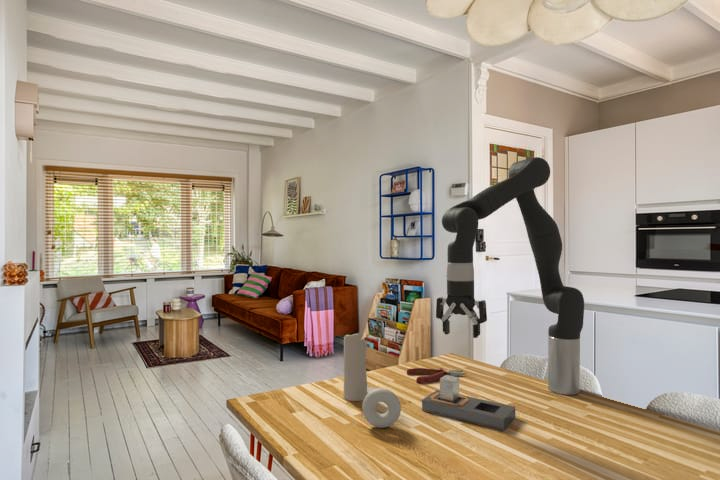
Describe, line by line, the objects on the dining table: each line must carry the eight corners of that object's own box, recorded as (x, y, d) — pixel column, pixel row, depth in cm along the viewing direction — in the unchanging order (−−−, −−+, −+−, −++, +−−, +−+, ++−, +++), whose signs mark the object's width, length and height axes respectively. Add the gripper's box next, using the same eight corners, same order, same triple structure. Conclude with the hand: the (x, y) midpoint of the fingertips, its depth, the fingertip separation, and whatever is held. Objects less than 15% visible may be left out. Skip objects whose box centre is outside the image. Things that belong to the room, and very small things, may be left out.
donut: (400, 425, 116) (401, 386, 116) (401, 430, 113) (401, 391, 113) (362, 423, 117) (362, 385, 117) (361, 429, 114) (361, 390, 114)
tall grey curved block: (382, 389, 143) (382, 327, 143) (358, 403, 131) (359, 335, 131) (363, 385, 147) (363, 324, 147) (338, 398, 135) (339, 332, 135)
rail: (437, 399, 134) (437, 389, 134) (515, 417, 121) (515, 406, 121) (422, 410, 126) (422, 399, 126) (504, 430, 113) (504, 418, 113)
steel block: (445, 405, 130) (446, 374, 130) (458, 409, 127) (459, 377, 127) (439, 410, 126) (440, 378, 126) (453, 413, 124) (453, 381, 124)
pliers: (472, 380, 154) (472, 373, 154) (417, 385, 149) (417, 377, 149) (457, 371, 165) (457, 364, 165) (405, 375, 160) (405, 367, 160)
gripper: (489, 278, 125) (490, 336, 126) (442, 276, 134) (443, 330, 134) (480, 281, 119) (480, 341, 120) (431, 278, 127) (432, 335, 128)
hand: (461, 335), depth 127 cm, fingers open, 8 cm apart
